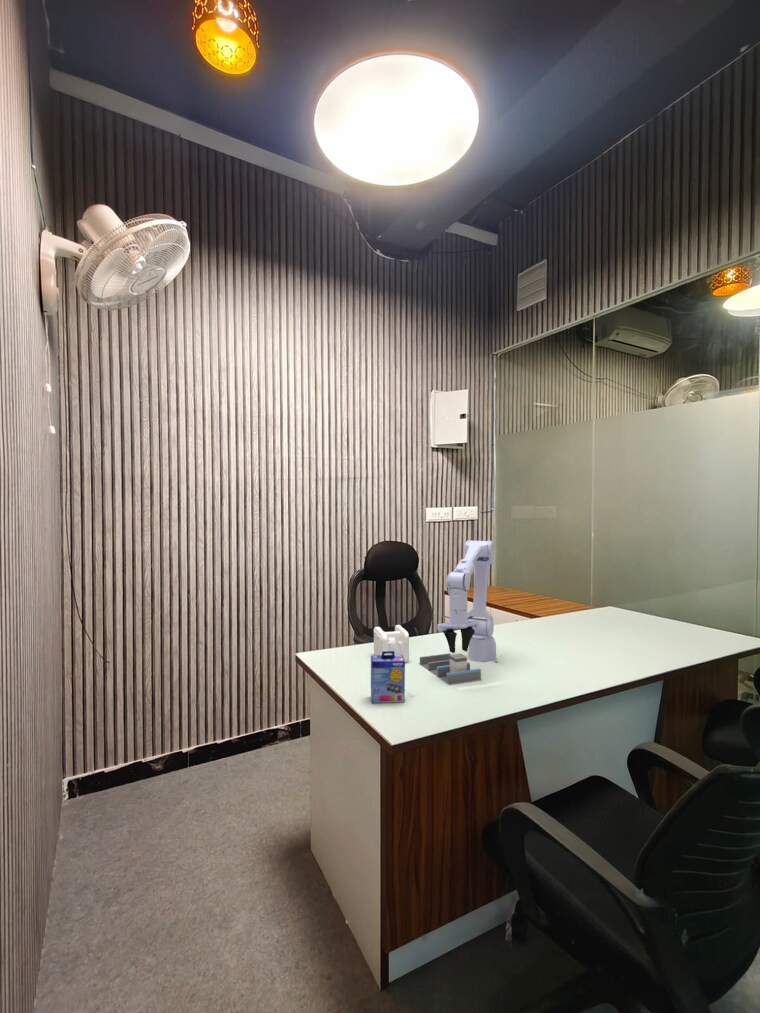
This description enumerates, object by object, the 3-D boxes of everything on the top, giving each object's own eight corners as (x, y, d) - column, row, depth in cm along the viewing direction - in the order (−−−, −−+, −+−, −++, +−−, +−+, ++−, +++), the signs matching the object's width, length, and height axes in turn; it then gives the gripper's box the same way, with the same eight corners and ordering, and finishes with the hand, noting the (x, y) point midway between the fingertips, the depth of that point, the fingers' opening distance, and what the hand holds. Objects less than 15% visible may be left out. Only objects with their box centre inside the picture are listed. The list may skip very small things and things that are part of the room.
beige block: (460, 674, 150) (460, 653, 150) (466, 678, 146) (466, 656, 146) (449, 675, 149) (449, 654, 149) (455, 680, 145) (455, 658, 145)
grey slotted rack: (448, 662, 165) (448, 650, 166) (482, 683, 145) (482, 670, 145) (418, 666, 161) (418, 654, 161) (449, 688, 141) (449, 674, 141)
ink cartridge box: (371, 704, 129) (371, 652, 129) (370, 696, 135) (370, 647, 135) (405, 702, 130) (405, 651, 130) (403, 695, 135) (403, 646, 136)
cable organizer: (410, 666, 161) (410, 633, 161) (381, 668, 159) (381, 635, 159) (398, 653, 176) (398, 623, 176) (372, 655, 173) (372, 625, 173)
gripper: (444, 613, 141) (444, 657, 141) (484, 610, 146) (484, 652, 146) (434, 609, 148) (434, 651, 147) (472, 605, 153) (472, 646, 153)
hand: (458, 651), depth 147 cm, fingers open, 4 cm apart
